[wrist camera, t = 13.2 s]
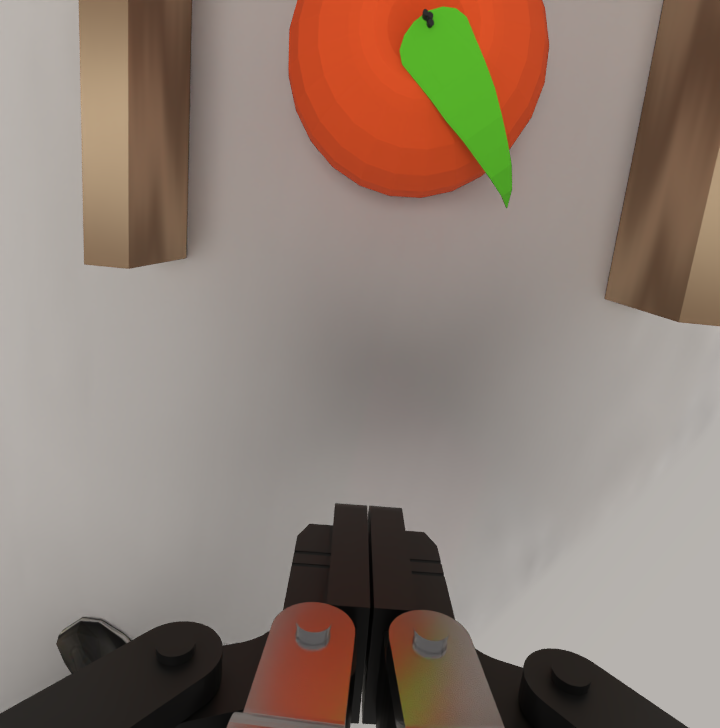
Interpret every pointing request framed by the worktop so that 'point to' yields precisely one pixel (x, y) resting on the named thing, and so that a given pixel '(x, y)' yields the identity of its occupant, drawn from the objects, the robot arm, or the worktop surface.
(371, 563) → the robot arm
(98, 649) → the figurine
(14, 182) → the worktop surface
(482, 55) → the clementine
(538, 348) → the worktop surface
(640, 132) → the bay
